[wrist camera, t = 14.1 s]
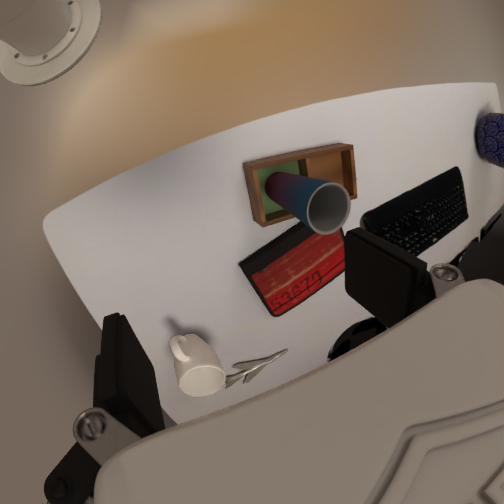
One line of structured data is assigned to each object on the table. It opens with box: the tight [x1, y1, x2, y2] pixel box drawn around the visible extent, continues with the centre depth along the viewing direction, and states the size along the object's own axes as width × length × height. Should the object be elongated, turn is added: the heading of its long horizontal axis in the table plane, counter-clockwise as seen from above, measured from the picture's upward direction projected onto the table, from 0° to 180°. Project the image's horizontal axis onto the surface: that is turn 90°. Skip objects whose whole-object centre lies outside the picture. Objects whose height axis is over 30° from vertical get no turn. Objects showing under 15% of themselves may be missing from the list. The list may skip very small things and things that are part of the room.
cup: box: [265, 172, 351, 235], centre depth 42 cm, size 7×7×15 cm
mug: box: [170, 334, 225, 397], centre depth 49 cm, size 12×8×11 cm
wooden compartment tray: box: [243, 143, 357, 227], centre depth 49 cm, size 10×20×4 cm, turn 101°
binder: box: [239, 221, 345, 317], centre depth 57 cm, size 16×2×21 cm
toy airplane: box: [225, 350, 287, 389], centre depth 63 cm, size 8×21×2 cm, turn 109°
